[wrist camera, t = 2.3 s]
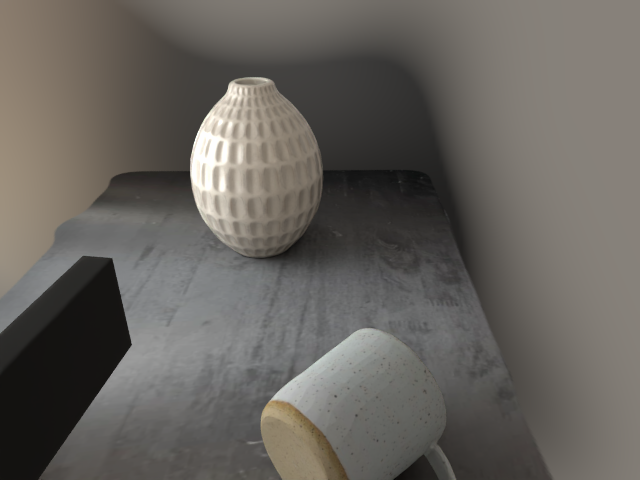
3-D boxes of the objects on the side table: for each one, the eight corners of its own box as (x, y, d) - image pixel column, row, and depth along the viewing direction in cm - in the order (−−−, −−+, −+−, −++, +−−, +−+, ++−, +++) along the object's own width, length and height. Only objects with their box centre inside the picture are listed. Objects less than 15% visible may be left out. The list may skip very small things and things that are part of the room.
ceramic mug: (254, 467, 30) (245, 371, 26) (348, 394, 35) (352, 304, 31) (395, 612, 24) (412, 513, 20) (486, 497, 29) (514, 400, 25)
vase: (345, 256, 51) (349, 87, 43) (222, 289, 46) (201, 105, 38) (292, 207, 61) (287, 63, 53) (186, 230, 56) (163, 74, 48)
